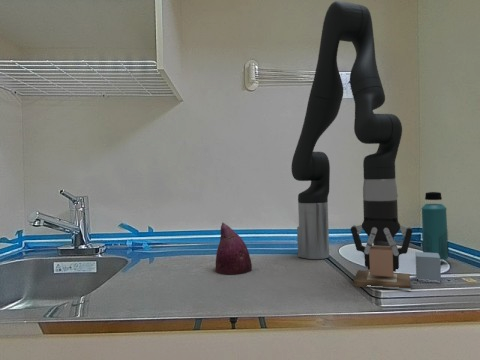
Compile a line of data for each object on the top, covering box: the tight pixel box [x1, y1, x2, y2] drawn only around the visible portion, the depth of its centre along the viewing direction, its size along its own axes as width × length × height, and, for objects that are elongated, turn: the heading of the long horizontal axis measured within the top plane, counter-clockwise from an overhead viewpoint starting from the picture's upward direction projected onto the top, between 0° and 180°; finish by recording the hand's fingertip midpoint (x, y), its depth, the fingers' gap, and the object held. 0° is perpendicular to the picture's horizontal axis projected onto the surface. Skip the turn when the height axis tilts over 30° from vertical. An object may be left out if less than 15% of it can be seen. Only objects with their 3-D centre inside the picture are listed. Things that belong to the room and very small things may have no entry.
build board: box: [352, 269, 412, 289], centre depth 85 cm, size 12×10×1 cm
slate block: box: [415, 251, 442, 282], centre depth 86 cm, size 5×5×6 cm
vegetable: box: [215, 221, 253, 275], centre depth 100 cm, size 10×10×15 cm
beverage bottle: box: [421, 191, 450, 261], centre depth 101 cm, size 6×7×20 cm
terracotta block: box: [369, 244, 394, 277], centre depth 85 cm, size 5×5×6 cm
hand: (381, 269), depth 85 cm, fingers closed on terracotta block, 4 cm apart
